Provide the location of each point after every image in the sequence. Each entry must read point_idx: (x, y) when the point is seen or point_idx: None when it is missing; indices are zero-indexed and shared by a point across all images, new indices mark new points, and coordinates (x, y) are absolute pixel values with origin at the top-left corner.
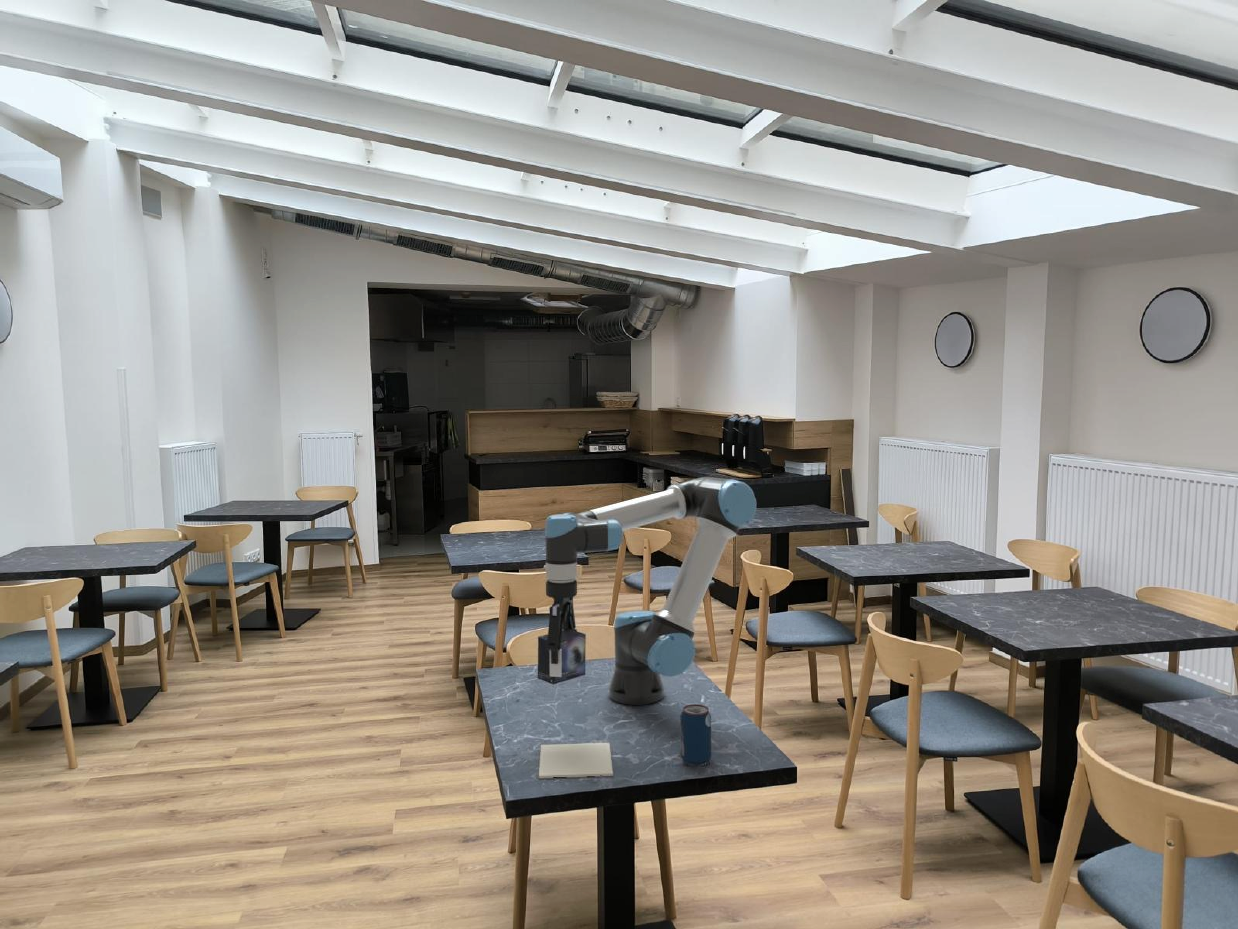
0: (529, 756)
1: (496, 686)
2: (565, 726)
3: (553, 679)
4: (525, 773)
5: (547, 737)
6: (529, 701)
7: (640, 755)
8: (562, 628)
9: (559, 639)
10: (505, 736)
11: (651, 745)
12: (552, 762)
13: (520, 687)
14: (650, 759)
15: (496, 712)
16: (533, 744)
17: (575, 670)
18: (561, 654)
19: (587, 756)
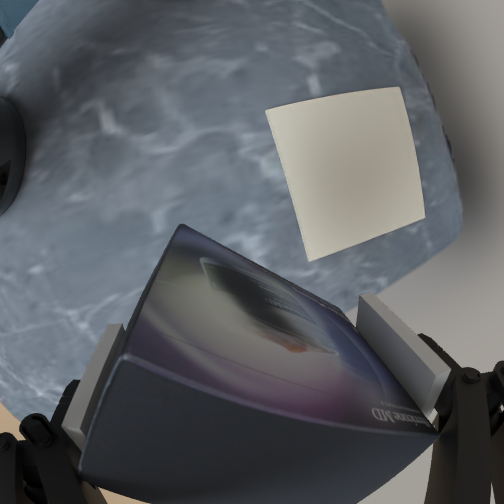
0: (348, 265)
1: None
2: None
3: (348, 319)
4: (407, 245)
5: None
6: (88, 361)
7: (300, 39)
8: (467, 495)
9: (488, 416)
10: None
11: (242, 24)
12: (382, 209)
13: (49, 387)
14: (313, 21)
15: None
16: (294, 281)
17: (249, 266)
18: (418, 354)
19: (347, 144)
